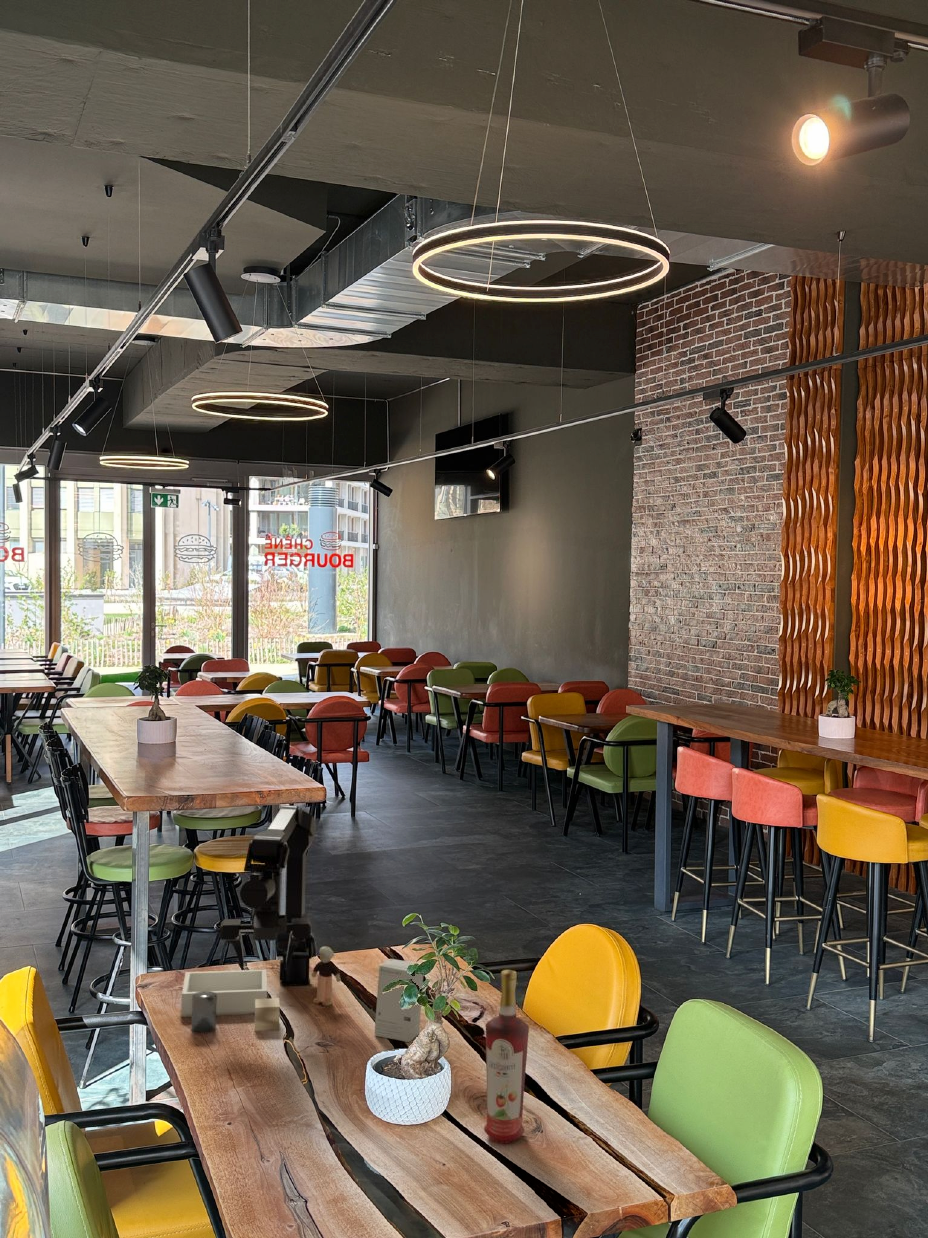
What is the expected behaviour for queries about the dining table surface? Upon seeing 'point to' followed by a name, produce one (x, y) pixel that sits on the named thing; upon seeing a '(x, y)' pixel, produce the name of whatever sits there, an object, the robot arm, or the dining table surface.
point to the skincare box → (396, 1003)
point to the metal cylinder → (204, 1012)
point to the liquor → (506, 1066)
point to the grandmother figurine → (325, 976)
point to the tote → (226, 990)
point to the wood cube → (267, 1014)
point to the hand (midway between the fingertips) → (264, 969)
